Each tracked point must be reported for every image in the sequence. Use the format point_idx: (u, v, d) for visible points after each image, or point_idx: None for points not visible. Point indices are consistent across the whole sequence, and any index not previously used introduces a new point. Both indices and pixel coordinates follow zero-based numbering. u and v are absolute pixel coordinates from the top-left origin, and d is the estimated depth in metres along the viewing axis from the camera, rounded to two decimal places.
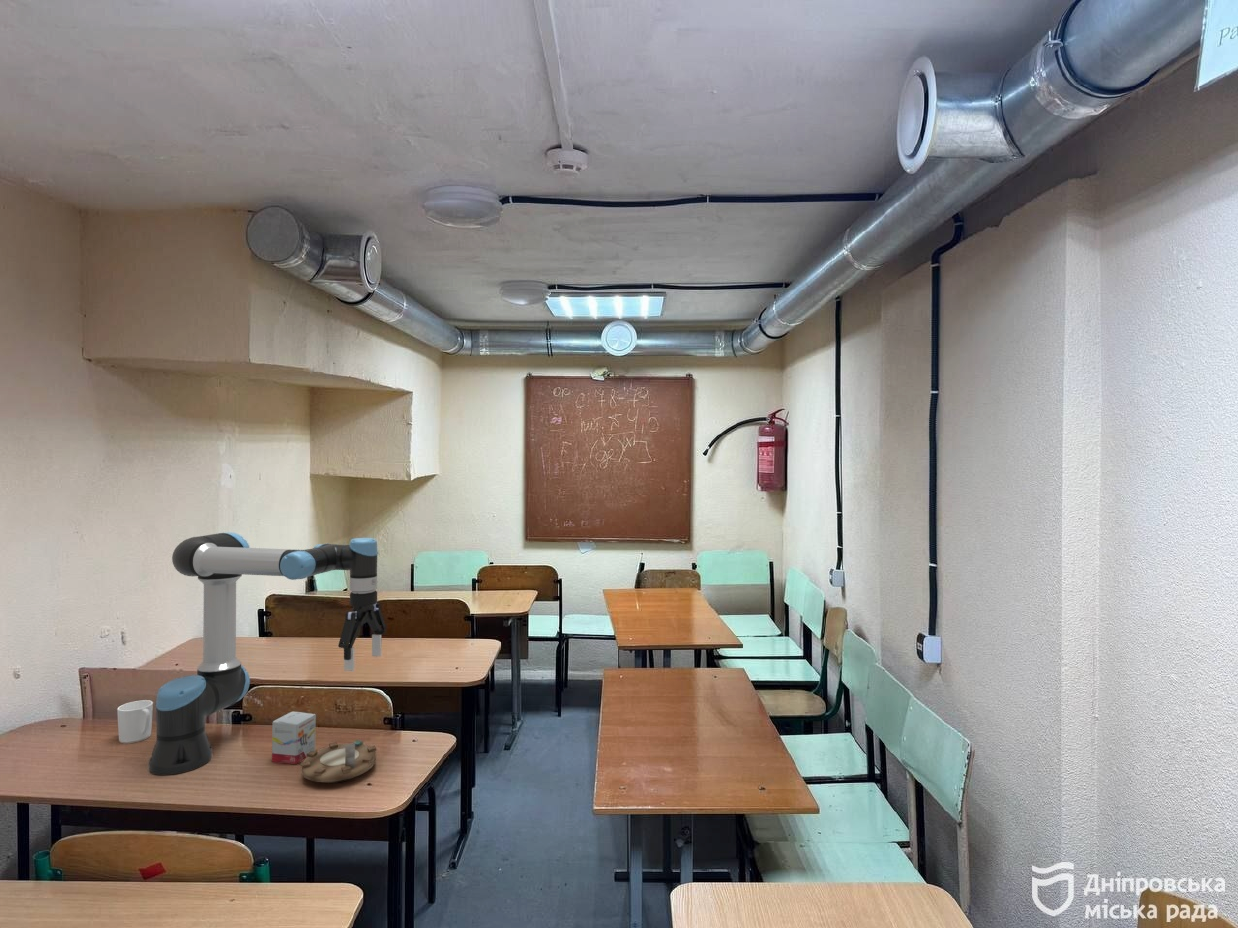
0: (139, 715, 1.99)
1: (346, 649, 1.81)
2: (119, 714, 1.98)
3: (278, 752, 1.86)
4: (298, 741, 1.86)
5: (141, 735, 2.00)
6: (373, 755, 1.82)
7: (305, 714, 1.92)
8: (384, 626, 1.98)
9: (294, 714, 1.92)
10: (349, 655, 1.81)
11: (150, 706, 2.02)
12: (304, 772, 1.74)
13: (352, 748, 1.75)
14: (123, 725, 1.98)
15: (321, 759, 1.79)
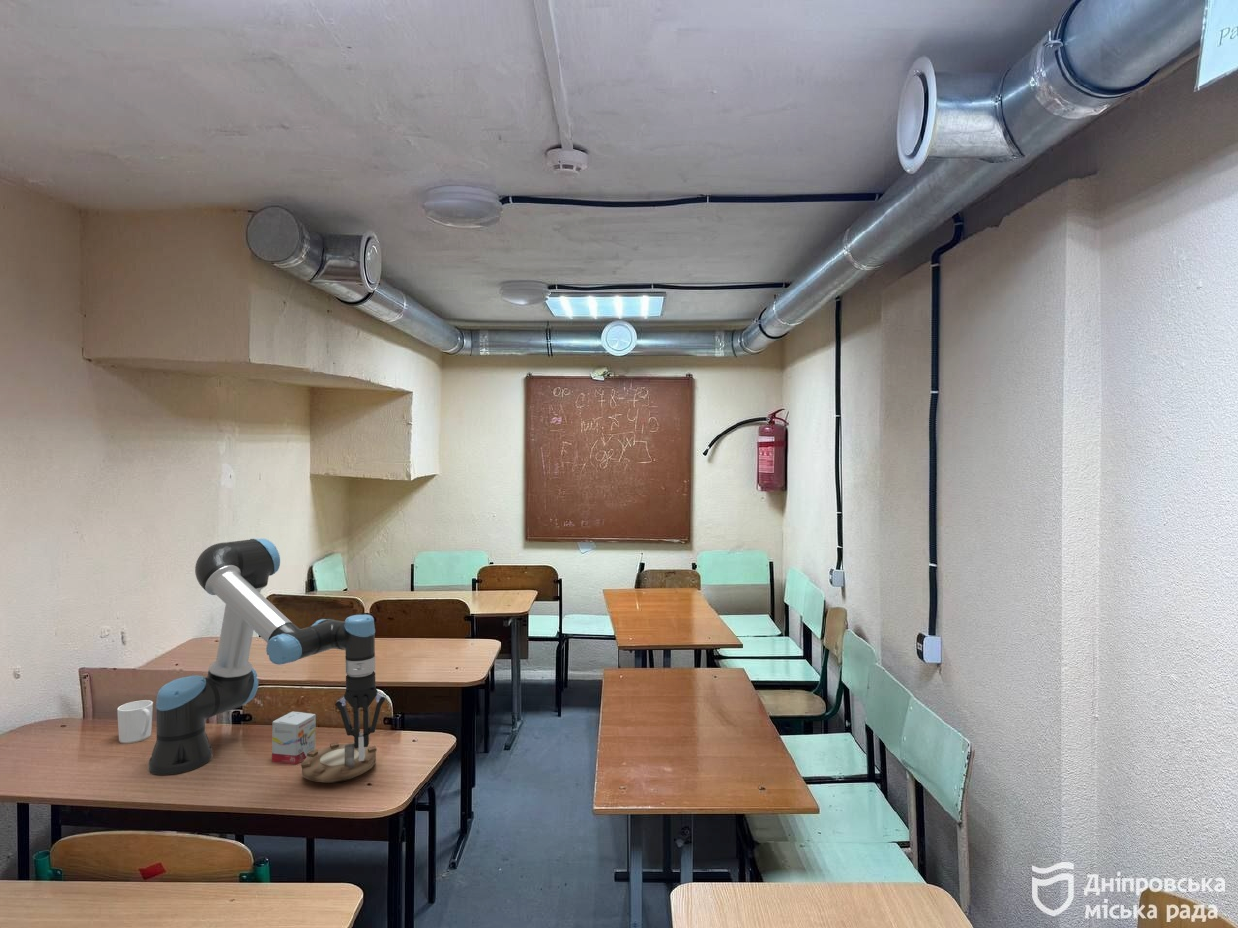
0: (139, 715, 1.99)
1: None
2: (119, 714, 1.98)
3: (278, 752, 1.86)
4: (298, 741, 1.86)
5: (141, 735, 2.00)
6: (373, 755, 1.82)
7: (305, 714, 1.92)
8: (373, 727, 1.76)
9: (294, 714, 1.92)
10: (356, 743, 1.75)
11: (150, 706, 2.02)
12: (304, 772, 1.74)
13: (351, 748, 1.74)
14: (123, 725, 1.98)
15: (321, 759, 1.79)
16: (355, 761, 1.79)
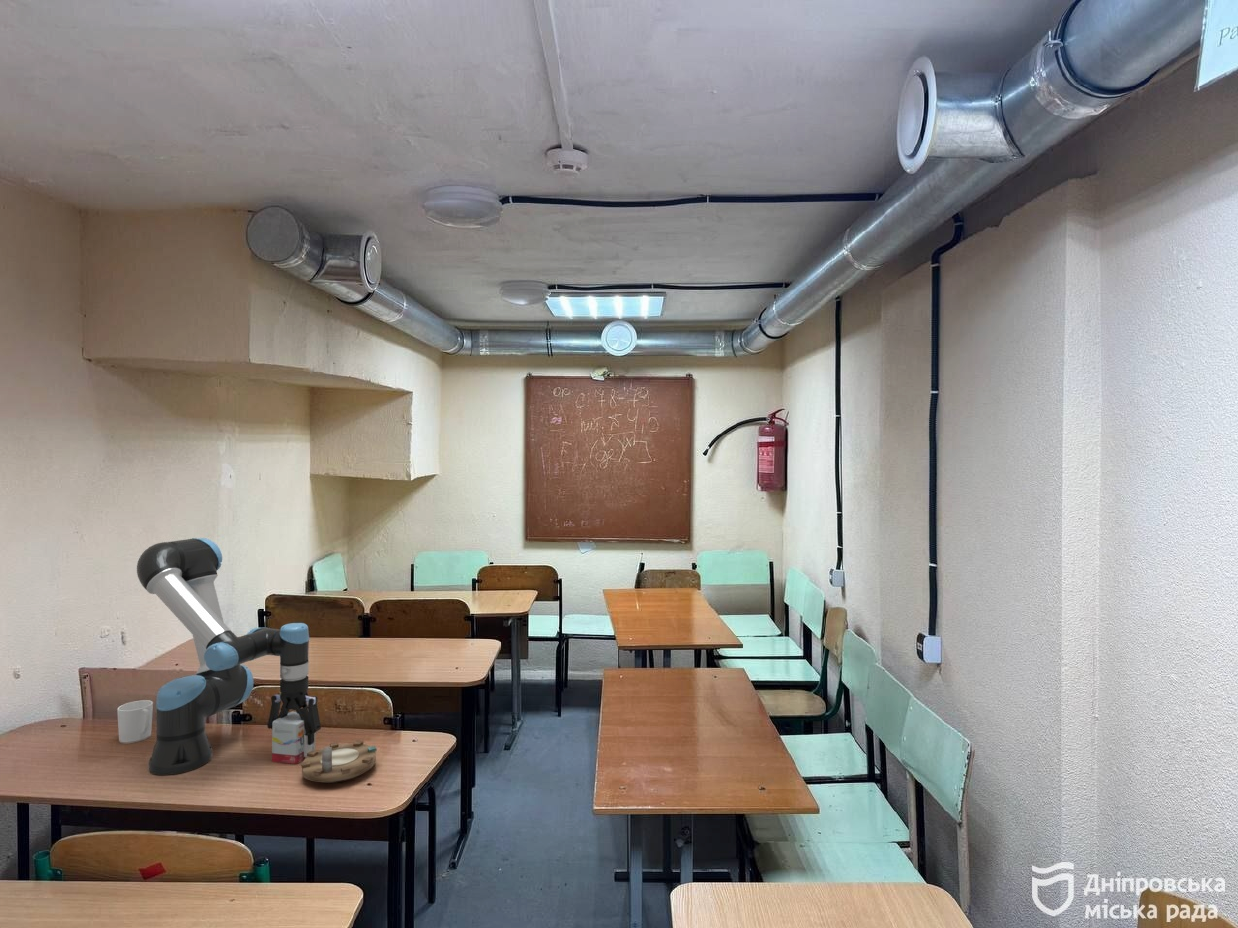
0: (139, 715, 1.99)
1: None
2: (119, 714, 1.98)
3: (278, 752, 1.86)
4: (298, 740, 1.86)
5: (141, 735, 2.00)
6: (358, 767, 1.75)
7: None
8: (313, 728, 1.87)
9: (294, 714, 1.92)
10: None
11: (150, 706, 2.02)
12: None
13: (325, 752, 1.72)
14: (123, 725, 1.98)
15: None
16: (340, 766, 1.75)
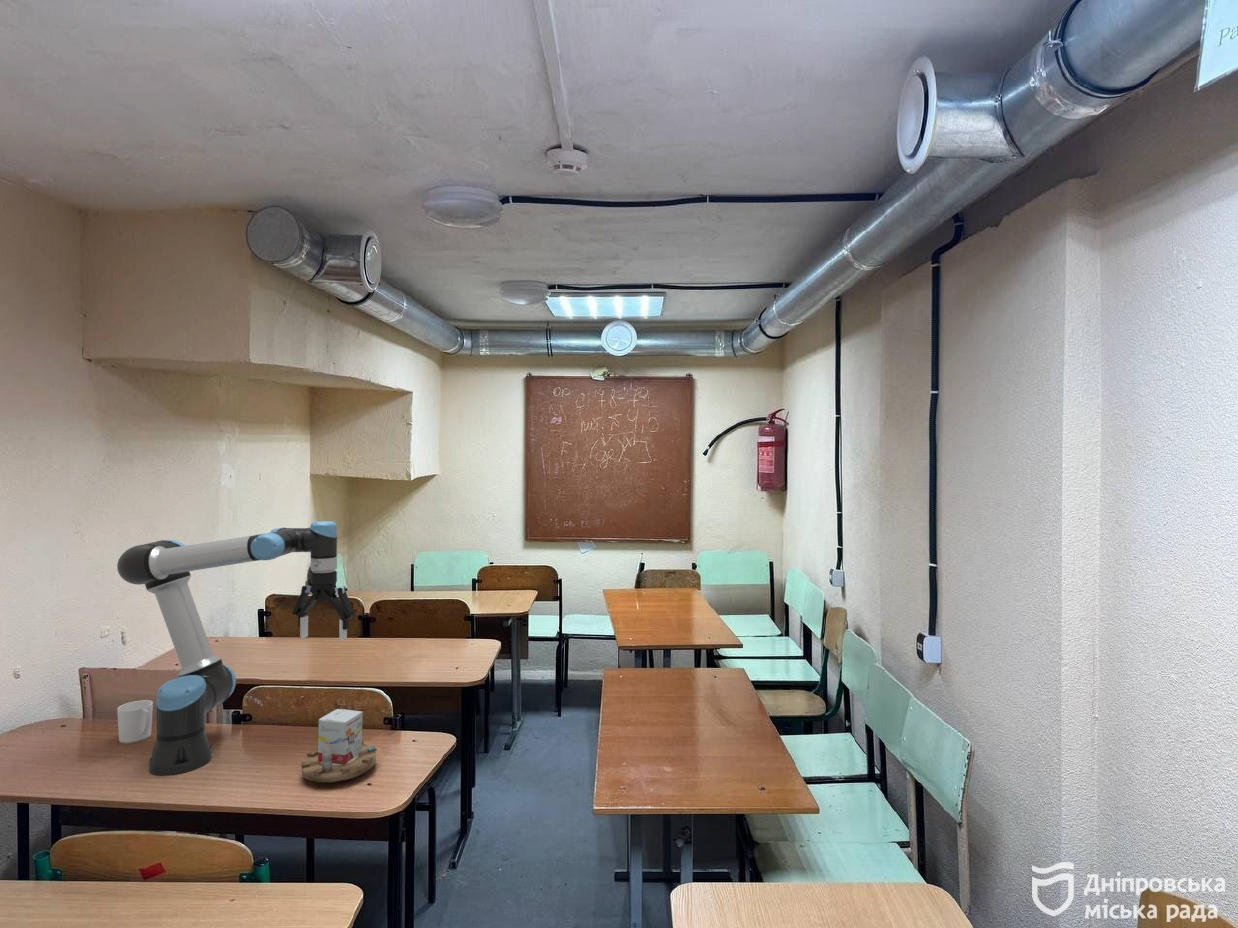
0: (139, 715, 1.99)
1: None
2: (119, 714, 1.98)
3: None
4: (346, 739, 1.76)
5: (141, 735, 2.00)
6: (358, 767, 1.75)
7: (351, 711, 1.83)
8: (347, 613, 1.99)
9: (340, 711, 1.83)
10: (299, 623, 2.02)
11: (150, 706, 2.02)
12: None
13: (325, 752, 1.72)
14: (123, 725, 1.98)
15: None
16: (340, 766, 1.75)
